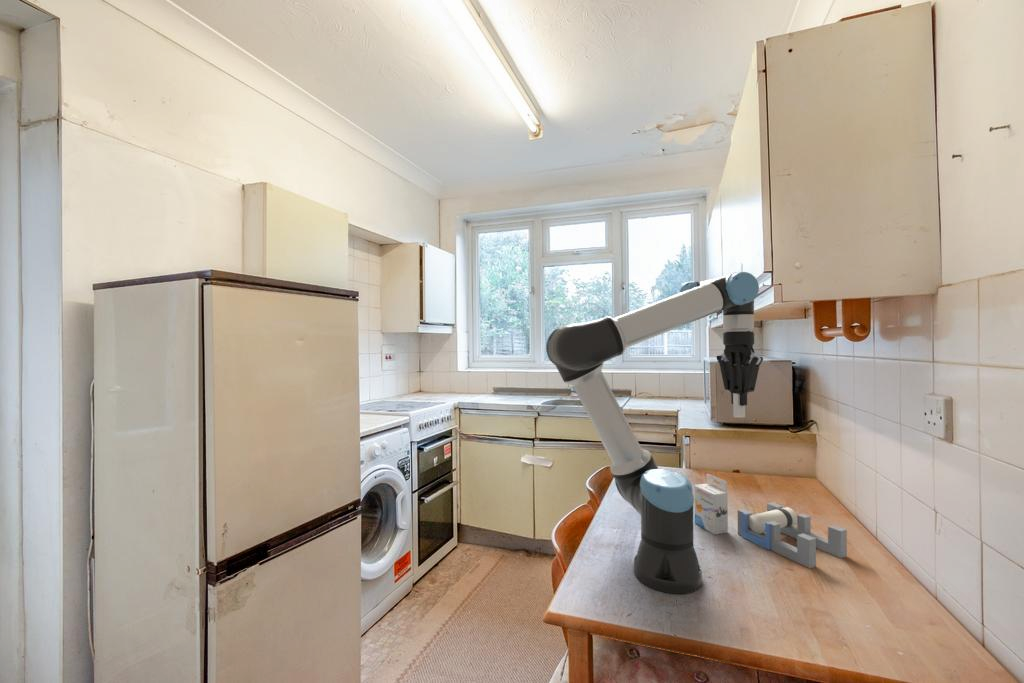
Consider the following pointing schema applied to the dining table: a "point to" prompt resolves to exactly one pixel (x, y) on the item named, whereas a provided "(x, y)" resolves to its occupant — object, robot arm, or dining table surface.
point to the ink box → (712, 505)
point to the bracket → (802, 533)
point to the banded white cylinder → (772, 519)
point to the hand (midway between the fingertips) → (739, 416)
